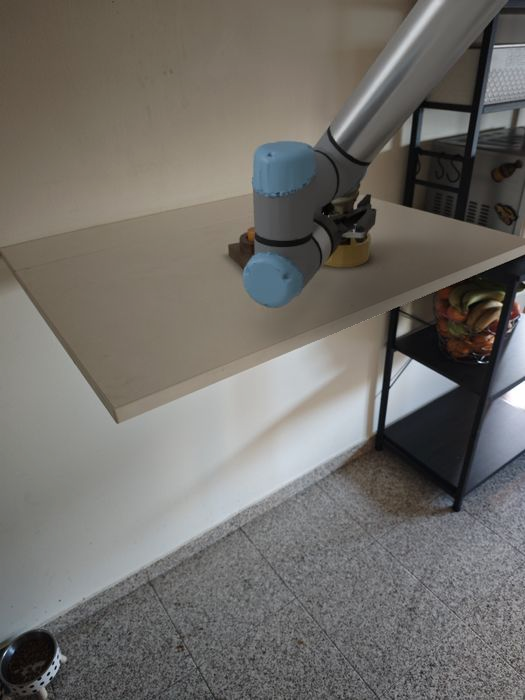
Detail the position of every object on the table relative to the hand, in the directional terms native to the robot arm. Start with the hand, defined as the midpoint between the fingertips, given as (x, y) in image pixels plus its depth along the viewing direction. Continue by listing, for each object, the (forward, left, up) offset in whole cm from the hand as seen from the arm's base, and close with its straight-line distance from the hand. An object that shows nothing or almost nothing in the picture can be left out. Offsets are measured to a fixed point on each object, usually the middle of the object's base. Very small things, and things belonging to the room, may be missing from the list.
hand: (352, 200), depth 92 cm
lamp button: (+3, +18, -5) cm, 19 cm away
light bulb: (-3, +4, -8) cm, 10 cm away
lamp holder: (-3, +4, -9) cm, 10 cm away
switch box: (+1, +18, -9) cm, 20 cm away
